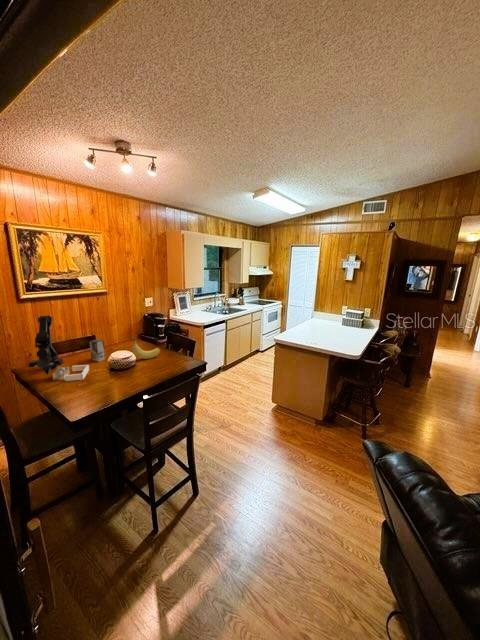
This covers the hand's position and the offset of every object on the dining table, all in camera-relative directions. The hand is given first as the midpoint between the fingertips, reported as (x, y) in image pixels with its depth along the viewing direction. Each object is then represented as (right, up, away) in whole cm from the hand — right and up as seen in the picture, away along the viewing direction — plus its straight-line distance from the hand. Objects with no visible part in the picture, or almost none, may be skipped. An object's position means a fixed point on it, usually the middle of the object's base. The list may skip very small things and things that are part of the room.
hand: (47, 374), depth 183 cm
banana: (+54, +5, +40) cm, 68 cm away
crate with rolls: (+8, -2, +3) cm, 8 cm away
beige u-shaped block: (+17, -2, +6) cm, 18 cm away
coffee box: (+16, +5, +35) cm, 39 cm away
